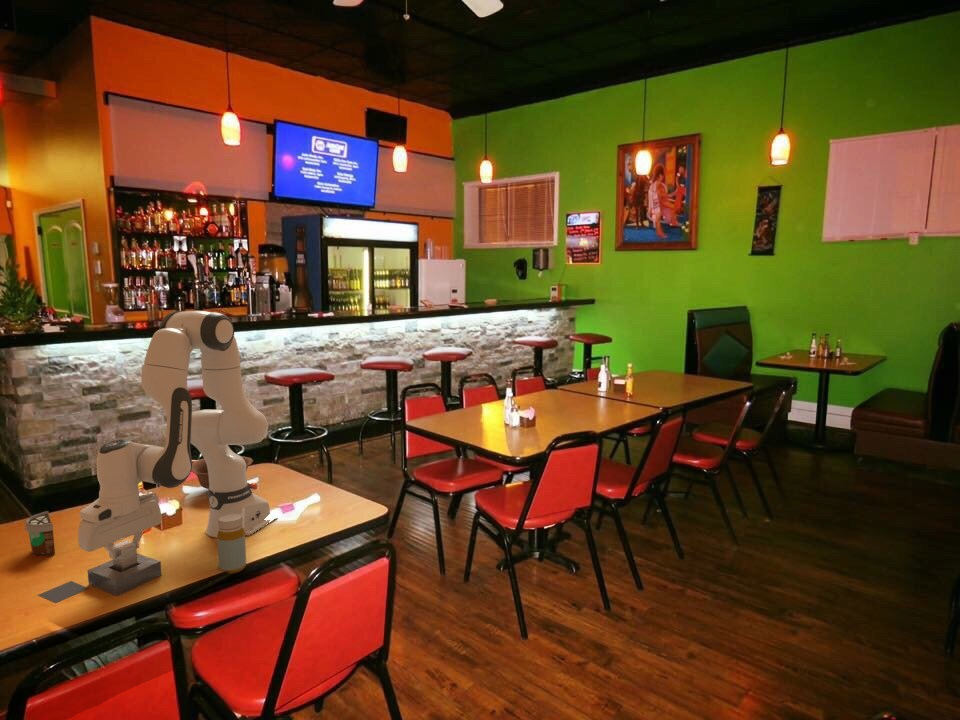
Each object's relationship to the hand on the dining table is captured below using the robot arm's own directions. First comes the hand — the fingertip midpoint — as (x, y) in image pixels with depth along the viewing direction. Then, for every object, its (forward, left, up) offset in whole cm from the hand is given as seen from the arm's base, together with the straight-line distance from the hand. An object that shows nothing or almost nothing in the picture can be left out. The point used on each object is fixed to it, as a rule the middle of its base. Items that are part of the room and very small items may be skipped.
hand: (124, 553), depth 159 cm
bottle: (-19, +18, -9) cm, 27 cm away
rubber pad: (+11, -8, -8) cm, 16 cm away
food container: (+1, -39, -9) cm, 40 cm away
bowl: (-60, -35, -9) cm, 70 cm away
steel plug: (0, 0, -6) cm, 6 cm away
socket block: (0, 0, -8) cm, 8 cm away
